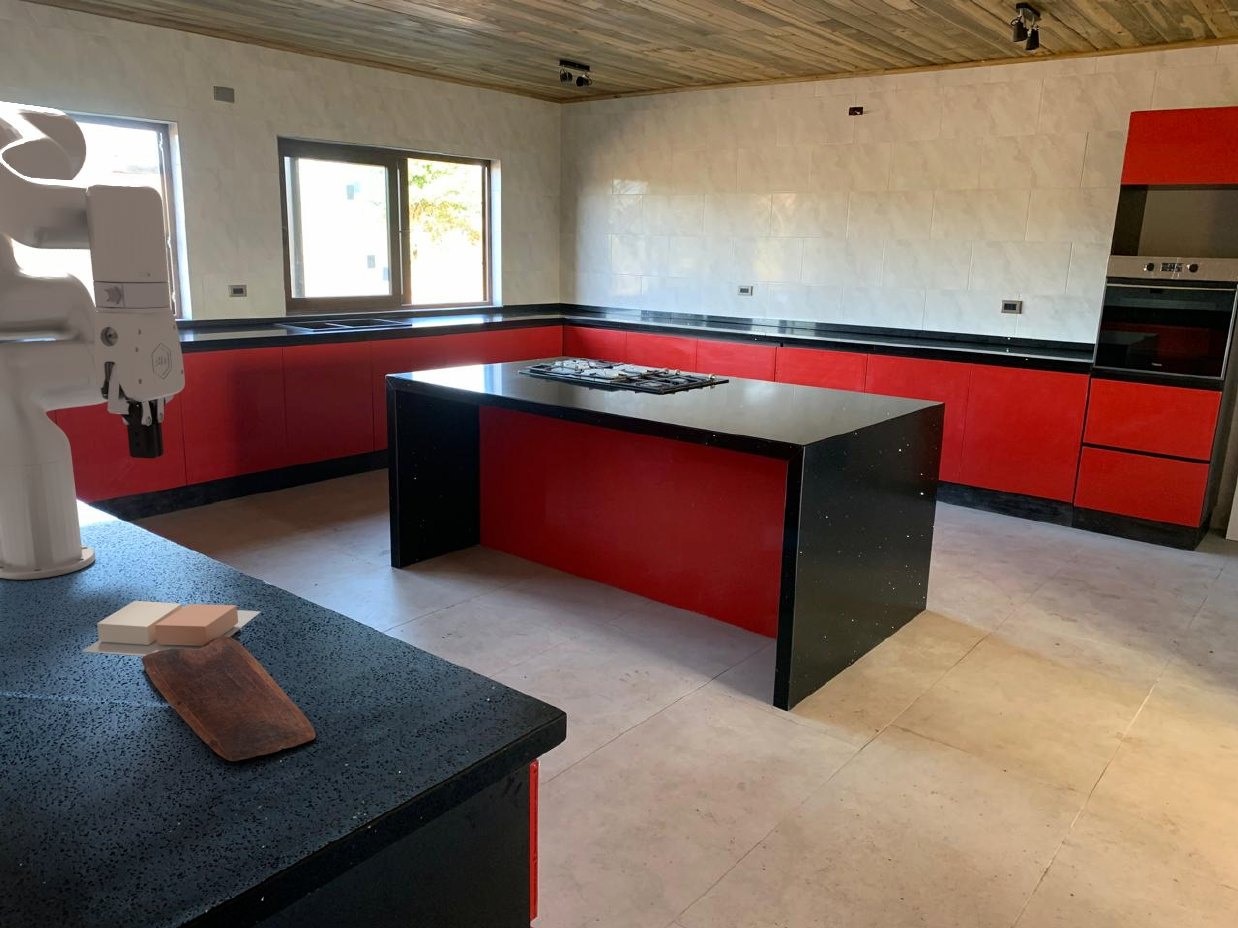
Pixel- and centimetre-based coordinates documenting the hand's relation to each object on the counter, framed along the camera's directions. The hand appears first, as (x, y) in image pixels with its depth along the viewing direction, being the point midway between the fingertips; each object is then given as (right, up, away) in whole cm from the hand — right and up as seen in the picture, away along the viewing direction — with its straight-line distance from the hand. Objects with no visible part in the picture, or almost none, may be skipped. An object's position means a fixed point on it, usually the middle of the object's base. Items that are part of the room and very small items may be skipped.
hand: (147, 456), depth 106 cm
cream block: (-1, -19, +4) cm, 19 cm away
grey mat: (+3, -21, +1) cm, 21 cm away
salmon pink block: (+6, -19, +3) cm, 20 cm away
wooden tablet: (+15, -25, -14) cm, 33 cm away
